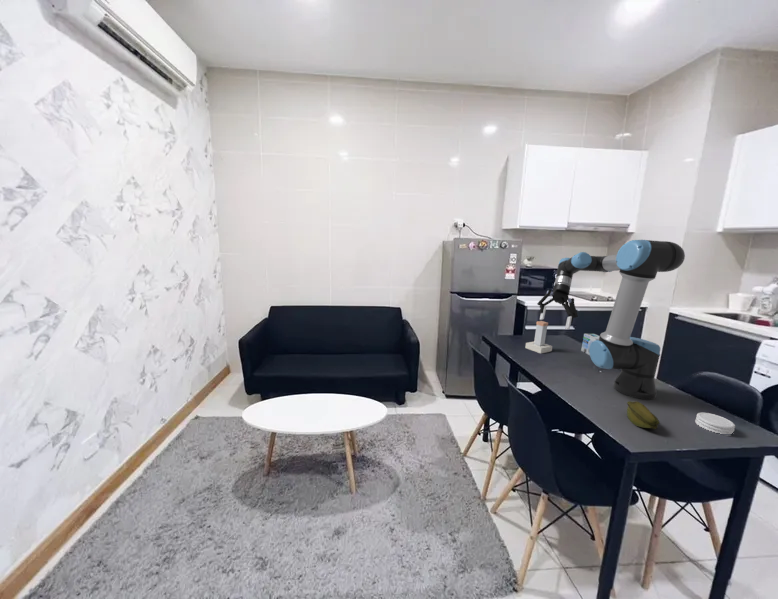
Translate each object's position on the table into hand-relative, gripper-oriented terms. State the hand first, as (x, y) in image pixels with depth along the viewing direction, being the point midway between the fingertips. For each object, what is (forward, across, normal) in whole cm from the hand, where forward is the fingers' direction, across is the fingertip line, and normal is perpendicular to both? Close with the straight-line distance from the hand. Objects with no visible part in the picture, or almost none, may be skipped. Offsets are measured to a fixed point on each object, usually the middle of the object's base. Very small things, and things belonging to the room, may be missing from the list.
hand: (554, 324), depth 168 cm
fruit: (+40, -18, +37) cm, 58 cm away
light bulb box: (-2, -39, -27) cm, 48 cm away
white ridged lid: (+33, -43, +39) cm, 67 cm away
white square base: (+7, -9, -29) cm, 31 cm away
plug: (+6, -9, -29) cm, 31 cm away
